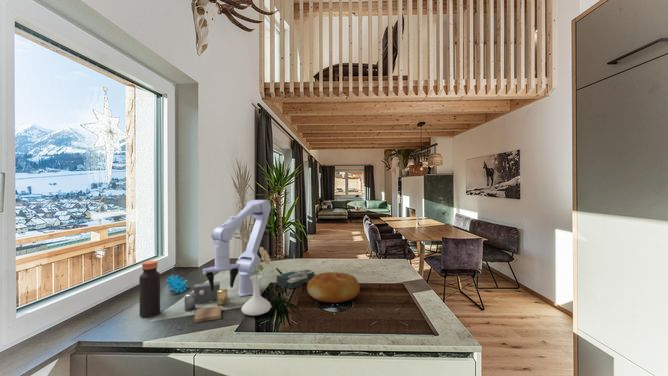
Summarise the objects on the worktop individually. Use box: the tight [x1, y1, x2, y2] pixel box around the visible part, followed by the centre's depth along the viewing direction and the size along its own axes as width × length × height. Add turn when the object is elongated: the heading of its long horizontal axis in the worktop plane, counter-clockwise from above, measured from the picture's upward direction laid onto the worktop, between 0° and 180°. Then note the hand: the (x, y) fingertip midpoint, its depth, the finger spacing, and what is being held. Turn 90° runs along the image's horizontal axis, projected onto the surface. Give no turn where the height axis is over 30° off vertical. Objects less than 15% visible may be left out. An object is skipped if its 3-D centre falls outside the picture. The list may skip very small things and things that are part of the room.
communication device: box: [275, 267, 315, 290], centre depth 149 cm, size 12×24×9 cm, turn 148°
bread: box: [306, 271, 361, 304], centre depth 129 cm, size 23×23×10 cm
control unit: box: [193, 281, 221, 304], centre depth 123 cm, size 10×5×7 cm, turn 112°
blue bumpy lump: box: [165, 274, 188, 294], centre depth 134 cm, size 11×6×10 cm
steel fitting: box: [184, 292, 197, 312], centre depth 114 cm, size 4×4×6 cm
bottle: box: [138, 260, 161, 318], centre depth 110 cm, size 7×7×20 cm
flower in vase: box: [240, 246, 272, 316], centre depth 113 cm, size 13×11×25 cm
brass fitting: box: [216, 288, 228, 307], centre depth 119 cm, size 4×4×6 cm
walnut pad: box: [193, 306, 222, 323], centre depth 109 cm, size 9×9×1 cm
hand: (222, 288), depth 119 cm, fingers open, 7 cm apart
